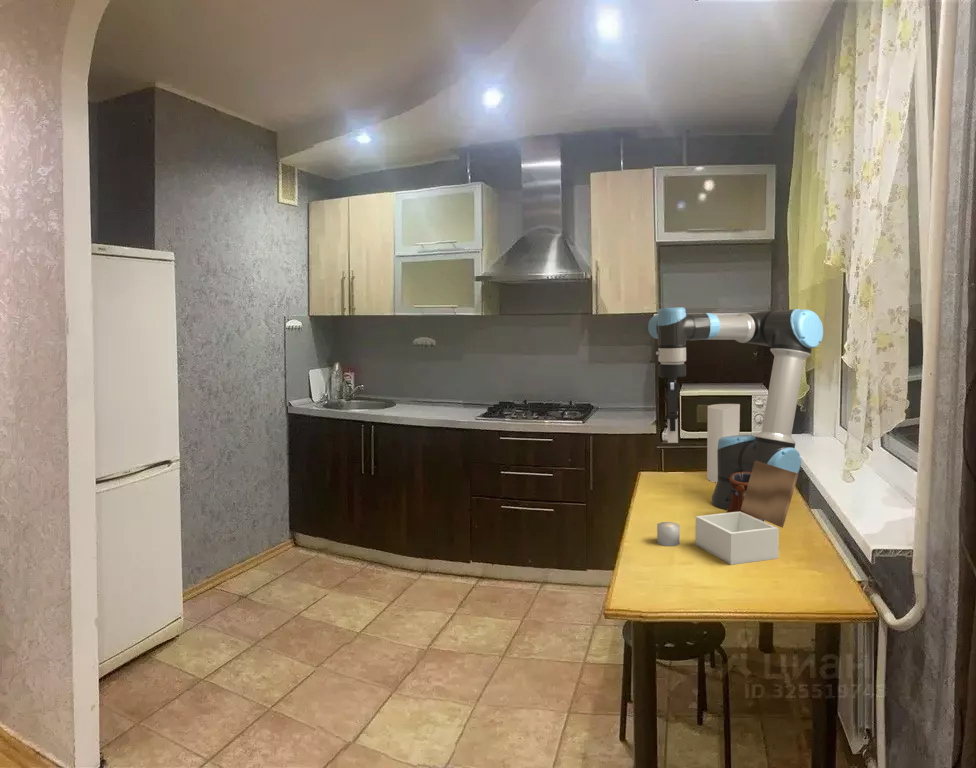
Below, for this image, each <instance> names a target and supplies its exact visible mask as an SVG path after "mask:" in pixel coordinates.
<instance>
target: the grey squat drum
mask: <svg viewBox="0 0 976 768" xmlns="http://www.w3.org/2000/svg"><path fill="white" fill-rule="evenodd" d="M656 525H657V526H656V529H657V530H656V531H657V536H656V537H657V538H656V540H657V541H656V542H657V544H658V545H660V546H664V547H676V546H679V545H680V539H681V538H680V537H681V536H680V534H681V532H680V530H681V529H680V524H679V523H676V522H671V521H663V522H662V521H661V522H658V523H657V524H656Z"/></svg>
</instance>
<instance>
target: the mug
mask: <svg viewBox="0 0 976 768" xmlns="http://www.w3.org/2000/svg"><path fill="white" fill-rule="evenodd" d="M750 476H751V472H737V473H733V474H732V475H730V478H729V480H730V482H731V486H730V490H731V492H732V496H731V502H730V506H729V508H728V509H727V511H726V513H730V512H739V511H740V512H743V513H745V514H747V515H750V516H752V517H754V518H757V519H759V520H761V521H764V522H765V520H763V519H760V518H758V517H756V516H753V515H751V514H749V513H746V512H744V511H742V510H741V507H742V503H743V500H744V496H745V493H746V490H747V486H748V483H749V479H750Z"/></svg>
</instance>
